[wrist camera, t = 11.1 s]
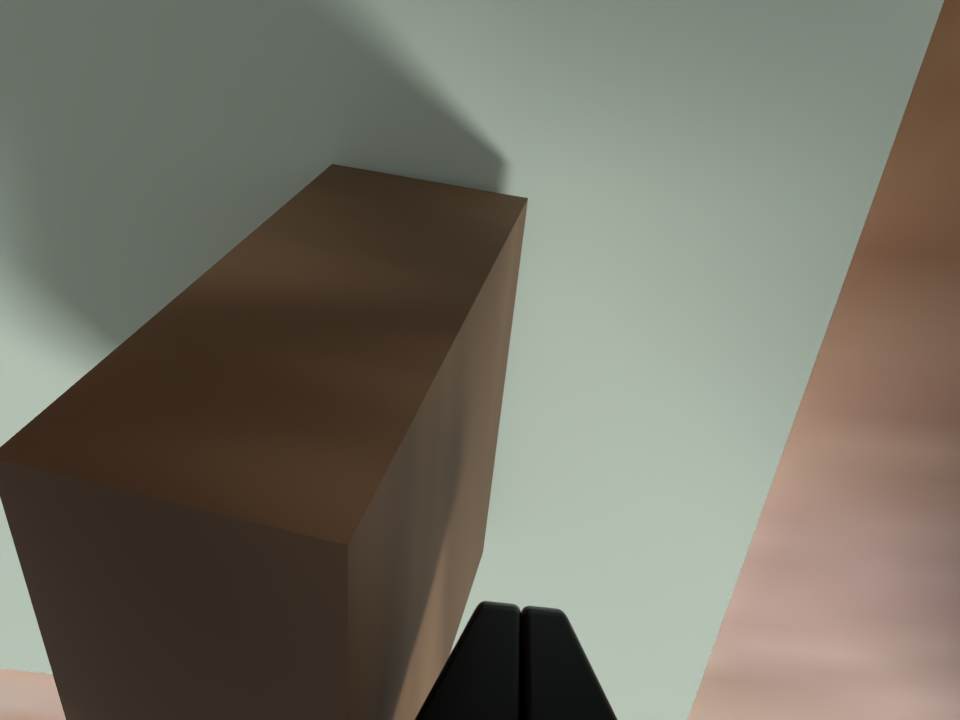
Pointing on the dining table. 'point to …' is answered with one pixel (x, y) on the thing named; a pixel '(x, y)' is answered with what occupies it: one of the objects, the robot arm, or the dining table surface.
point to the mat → (544, 256)
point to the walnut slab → (280, 467)
